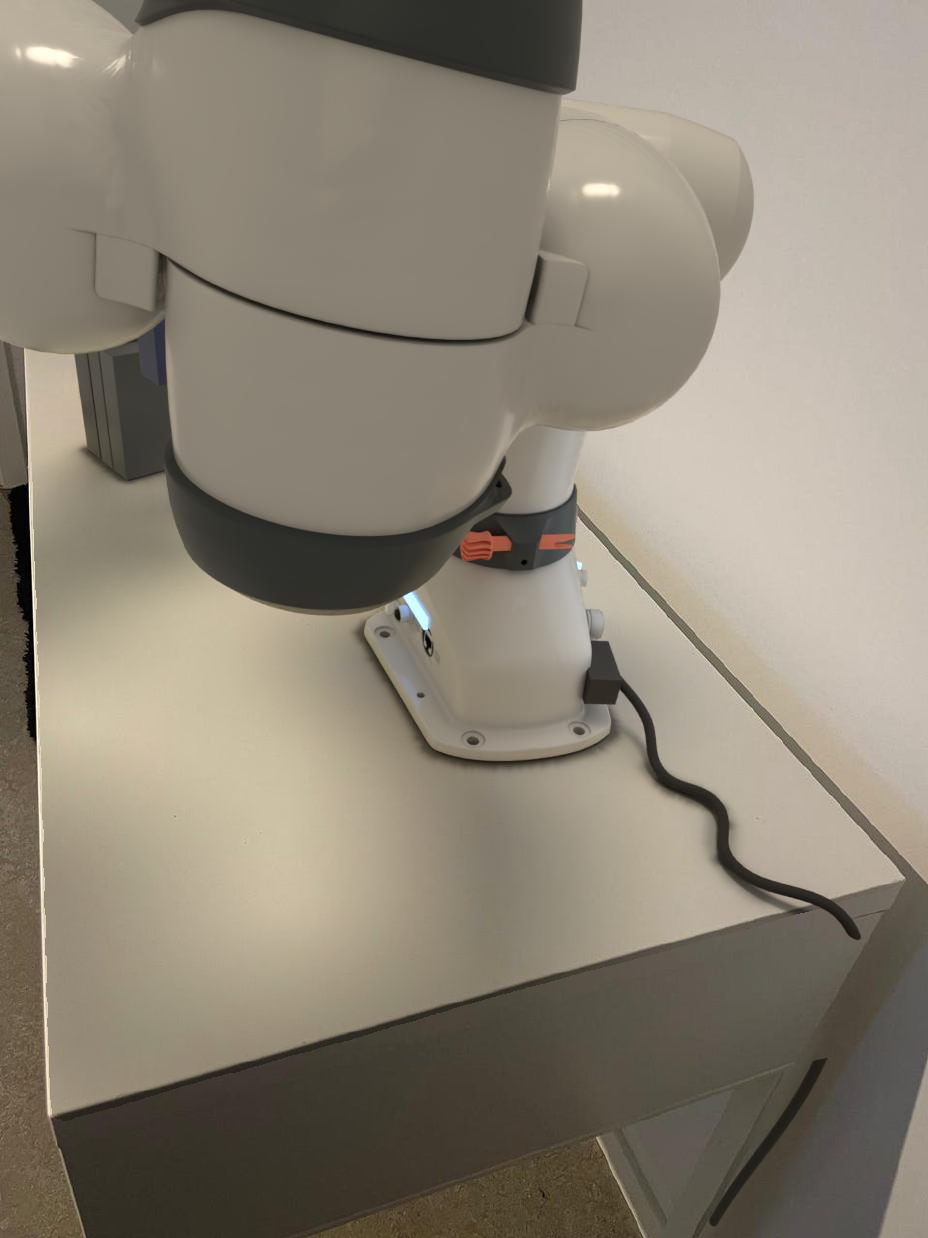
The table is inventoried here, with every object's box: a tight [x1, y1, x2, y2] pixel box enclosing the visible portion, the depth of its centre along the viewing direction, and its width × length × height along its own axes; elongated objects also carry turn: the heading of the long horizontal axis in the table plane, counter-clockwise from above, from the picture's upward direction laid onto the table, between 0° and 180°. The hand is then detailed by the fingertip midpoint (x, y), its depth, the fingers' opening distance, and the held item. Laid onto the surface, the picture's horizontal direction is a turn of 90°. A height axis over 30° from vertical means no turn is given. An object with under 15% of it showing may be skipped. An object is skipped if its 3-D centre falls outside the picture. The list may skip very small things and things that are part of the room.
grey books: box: [73, 338, 172, 481], centre depth 90 cm, size 8×10×13 cm
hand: (200, 248), depth 75 cm, fingers closed on navy book, 3 cm apart
